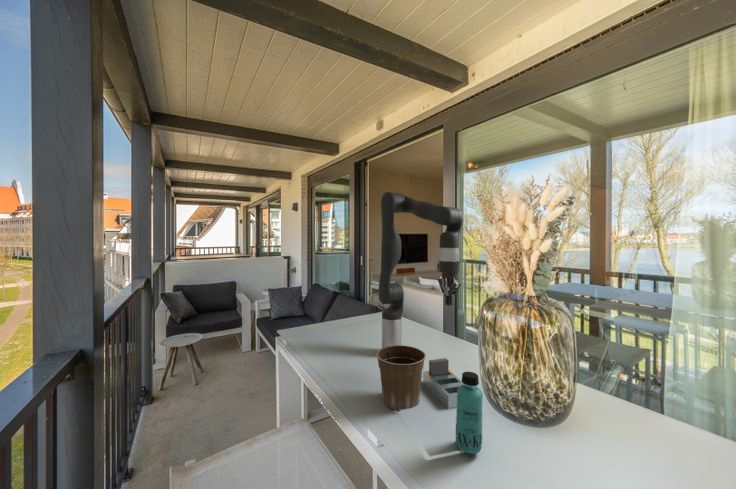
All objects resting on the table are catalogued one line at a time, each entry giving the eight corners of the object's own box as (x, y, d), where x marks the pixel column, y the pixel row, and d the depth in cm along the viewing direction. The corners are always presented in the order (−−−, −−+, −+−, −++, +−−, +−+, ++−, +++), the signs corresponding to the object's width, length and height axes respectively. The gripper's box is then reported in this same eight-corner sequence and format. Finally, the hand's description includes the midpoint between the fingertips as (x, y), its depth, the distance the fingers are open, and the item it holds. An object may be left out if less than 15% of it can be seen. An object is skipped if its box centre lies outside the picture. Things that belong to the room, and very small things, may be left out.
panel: (428, 384, 110) (429, 360, 110) (445, 382, 112) (445, 358, 112) (431, 387, 108) (431, 362, 108) (448, 384, 110) (448, 360, 110)
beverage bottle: (451, 443, 80) (452, 368, 80) (475, 442, 81) (476, 367, 80) (461, 461, 74) (462, 380, 73) (487, 459, 74) (488, 379, 74)
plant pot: (392, 421, 90) (393, 367, 89) (367, 396, 104) (367, 349, 104) (435, 407, 97) (436, 358, 97) (406, 385, 111) (407, 342, 111)
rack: (422, 385, 112) (423, 370, 112) (446, 381, 115) (446, 368, 115) (448, 412, 95) (448, 395, 95) (475, 407, 97) (475, 391, 97)
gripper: (431, 258, 120) (431, 302, 121) (449, 261, 108) (448, 309, 108) (448, 258, 122) (448, 301, 123) (467, 260, 110) (467, 308, 110)
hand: (448, 305), depth 115 cm, fingers closed
